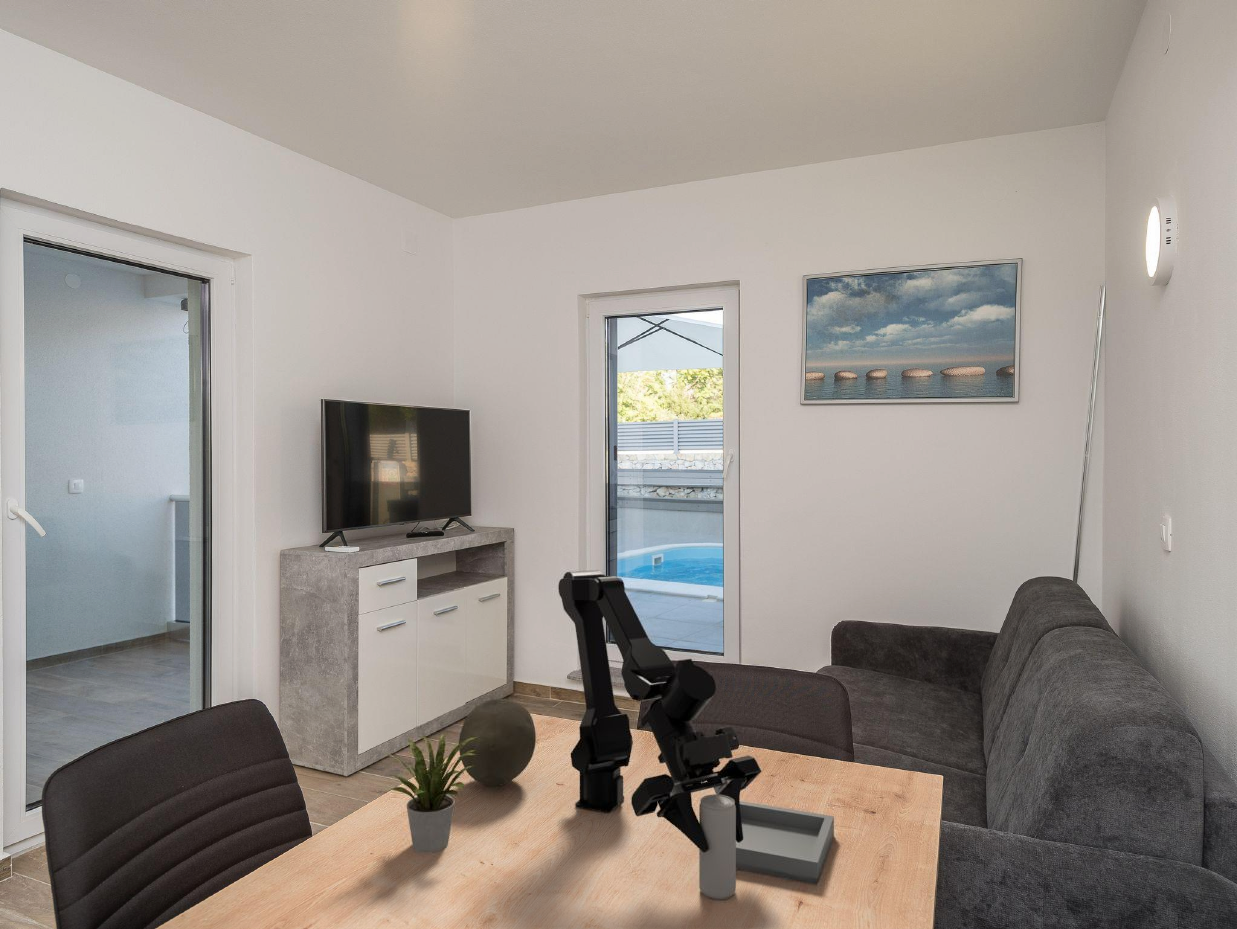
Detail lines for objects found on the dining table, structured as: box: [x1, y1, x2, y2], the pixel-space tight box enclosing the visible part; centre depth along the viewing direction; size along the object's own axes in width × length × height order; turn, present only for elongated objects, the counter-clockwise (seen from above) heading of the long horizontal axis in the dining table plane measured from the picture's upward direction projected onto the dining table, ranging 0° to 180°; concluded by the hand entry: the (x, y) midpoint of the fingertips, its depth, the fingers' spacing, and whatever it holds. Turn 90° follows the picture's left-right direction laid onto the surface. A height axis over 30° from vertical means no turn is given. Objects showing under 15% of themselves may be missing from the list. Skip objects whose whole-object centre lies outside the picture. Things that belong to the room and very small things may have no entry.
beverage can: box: [698, 793, 737, 901], centre depth 106 cm, size 5×5×12 cm
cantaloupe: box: [458, 698, 537, 787], centre depth 143 cm, size 14×14×15 cm
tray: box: [736, 800, 835, 886], centre depth 118 cm, size 16×16×3 cm
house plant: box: [385, 732, 477, 854], centre depth 120 cm, size 14×14×16 cm
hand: (723, 846), depth 105 cm, fingers open, 5 cm apart
